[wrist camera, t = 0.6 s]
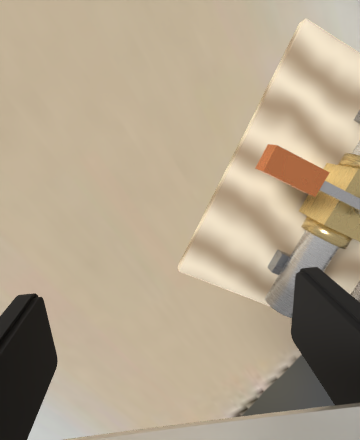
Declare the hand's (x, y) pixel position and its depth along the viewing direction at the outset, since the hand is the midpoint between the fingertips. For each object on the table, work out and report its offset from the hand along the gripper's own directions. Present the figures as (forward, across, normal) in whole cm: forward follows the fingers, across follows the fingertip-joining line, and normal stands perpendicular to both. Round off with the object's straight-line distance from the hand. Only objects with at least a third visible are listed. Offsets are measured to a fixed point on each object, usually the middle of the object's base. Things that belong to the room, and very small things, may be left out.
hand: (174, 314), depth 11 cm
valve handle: (+19, -17, 0) cm, 26 cm away
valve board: (+28, -21, +4) cm, 36 cm away
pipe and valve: (+27, -22, +4) cm, 35 cm away
